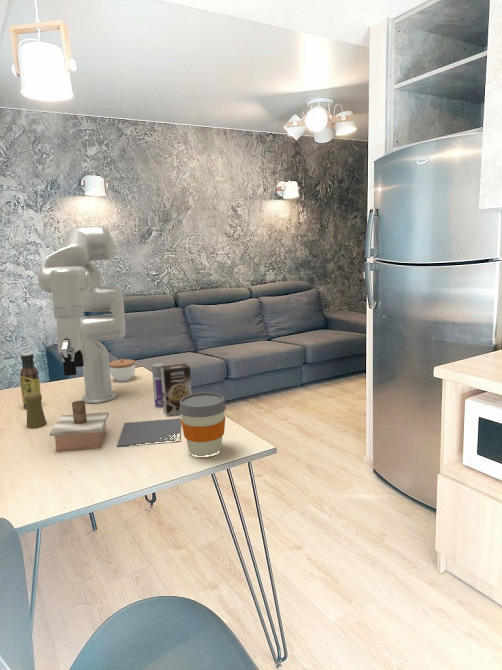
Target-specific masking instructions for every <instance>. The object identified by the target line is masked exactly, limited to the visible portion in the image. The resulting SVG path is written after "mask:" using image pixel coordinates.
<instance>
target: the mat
mask: <svg viewBox="0 0 502 670" xmlns="http://www.w3.org/2000/svg"><path fill="white" fill-rule="evenodd" d="M181 420H182V417H181V418H179V417H178V418H168V419H153V420H142V421H132V422H131V421H130V422H124V423H123V426H122V429H121V433H120V436H119V439H118V441H117V444H116V448H121V447H122V448H123V446H125V447H131V446H130V445H136V444H137V445H136V446H139V445H138V444H145V443H155V442H165V441H175V440H176V439H177V438H178V437H177V434H179V433H180V434H181V431H180V427H182V423H181ZM174 434H175V436H176V437H177V438H176V437H175V438H176V439H175V438H174V436H173V435H174ZM169 435H170V436H171V437H172V436H173V437H172V438H173V439H172V438H171V437H170V436H169ZM160 438H161V439H160ZM166 438H167V439H166ZM170 438H171V439H172V440H171V439H170ZM165 439H166V440H165ZM174 439H175V440H174Z"/></svg>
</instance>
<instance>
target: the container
mask: <svg viewBox="0 0 502 670" xmlns="http://www.w3.org/2000/svg"><path fill="white" fill-rule="evenodd" d="M161 366H166V364H165V363H161V362H159V363H158V362H157V363H153V364H152V365H151V367H152V368H151V371H152V387H153V396H154V397H153V398H154V407H155V408H159V409H161V408H163V397H162V381H161Z"/></svg>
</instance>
